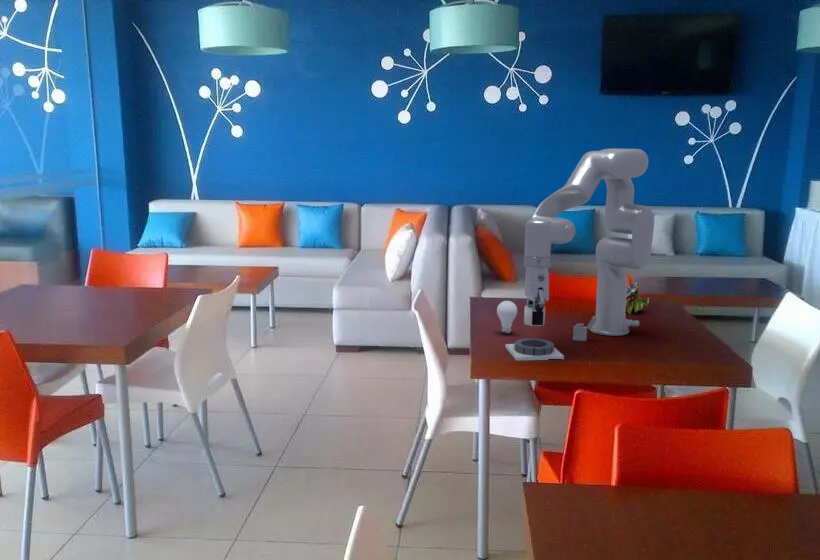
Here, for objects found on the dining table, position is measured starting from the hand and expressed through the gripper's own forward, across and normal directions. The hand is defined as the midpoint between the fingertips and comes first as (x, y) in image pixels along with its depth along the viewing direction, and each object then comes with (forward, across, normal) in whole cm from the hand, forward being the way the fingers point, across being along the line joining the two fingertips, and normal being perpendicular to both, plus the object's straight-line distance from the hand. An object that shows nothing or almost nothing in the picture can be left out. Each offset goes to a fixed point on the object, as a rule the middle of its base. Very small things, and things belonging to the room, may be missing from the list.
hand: (534, 321), depth 217 cm
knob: (+1, 0, 0) cm, 1 cm away
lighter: (+10, +13, -20) cm, 26 cm away
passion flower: (+9, +52, -51) cm, 74 cm away
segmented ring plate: (+10, 0, 0) cm, 10 cm away
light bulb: (+10, +23, +3) cm, 25 cm away
